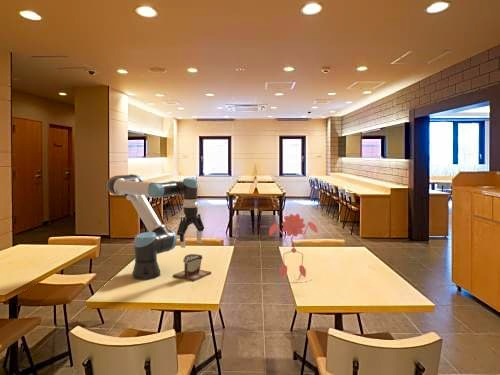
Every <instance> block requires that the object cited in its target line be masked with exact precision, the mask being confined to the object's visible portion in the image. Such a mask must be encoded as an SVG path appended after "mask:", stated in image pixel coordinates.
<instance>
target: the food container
mask: <svg viewBox="0 0 500 375" xmlns="http://www.w3.org/2000/svg"><path fill="white" fill-rule="evenodd" d="M202 260H203V255H202V254H198V253H195V254H194V253H191V254H185V256H184V257H183V260H182V261H183V264H184V270H183V271H184V272H185V276H186V277H190V276H193V275H195V274H198V273H199V272H200V270H201V266H202V265H201V264H202Z"/></svg>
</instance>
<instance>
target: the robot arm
mask: <svg viewBox="0 0 500 375" xmlns="http://www.w3.org/2000/svg"><path fill="white" fill-rule="evenodd" d="M106 188H107V191H108V192H109V193H110V194H111V195H113V196H124V197H125V199H126V200H127V201H130V202H131V204H132V205H133V208H134V209H135V210H136V212H137V214H138V216H139V217H140V219H141V221H142V222H143V225H144V226H145V228H146V230H147V231H146V232H141V233H138V234H136V235H135V237H134V241H133V245H134V246H133V247H134V265H133V266H134V267H133V270H132V274H131V277H132V279H135V280H150V279H154V278H158V277H159V276H161V269H160V266H159V264H158V260H157V257H158V256H157V255H158V254H163V253H166V252H169V251H171V250H174V248H176V245H177V241H178V236H179V242H180V248H183V249H186V235H185V234H186V232H187V230H188V227H189V226H190V225H192V224H193V225H194V226H195V229H196V243H197V244H202V233H203V232H204V229H205V226H204V224H203V221H202V217H201V214H200V213H198V211H199V209H198V180H197V178H189V177H186V178H184V179H183V181H178V180H177V181H176V180H171V181H168V182H167V181H166V182H152V181H151V182H150V181H144V179H143V178H142V177H141V176H140V175H138V174H132V173H130V174H124V175H123V174H121V175H120V174H119V175H114V176H111V177H110V178H109V179H108V180H107V183H106ZM146 196H147V197H151V198H153V199H159V198H163V197H170V196H183V214H184V215H185V216H181V217H180V222H179V224H178V229H177V231H176V232H175V231H174V230H171V229H169V228H168V227H167V225H166V224H165V225H164V224H163V223H162V222H161V220H160V219H159V217H158V215H157V214H156V212H155V210H154V209H153V207H152V205H151V204H150V202H149V201H148V199H147V197H146Z"/></svg>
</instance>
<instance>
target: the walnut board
mask: <svg viewBox="0 0 500 375" xmlns="http://www.w3.org/2000/svg"><path fill="white" fill-rule="evenodd" d="M210 275H212V271H211V270H210V271H209V270H203V269H200V272H199V273H198V274H195V275H193V276H190V277H186V276H185V272H184V270H182V271H180V272H176V273H174V274H172V277H173V278H176V279H181V280H184V281H186V280H187V281H192V282H195V281H198V280H200V279H203V278H205V277H207V276H210Z"/></svg>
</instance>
